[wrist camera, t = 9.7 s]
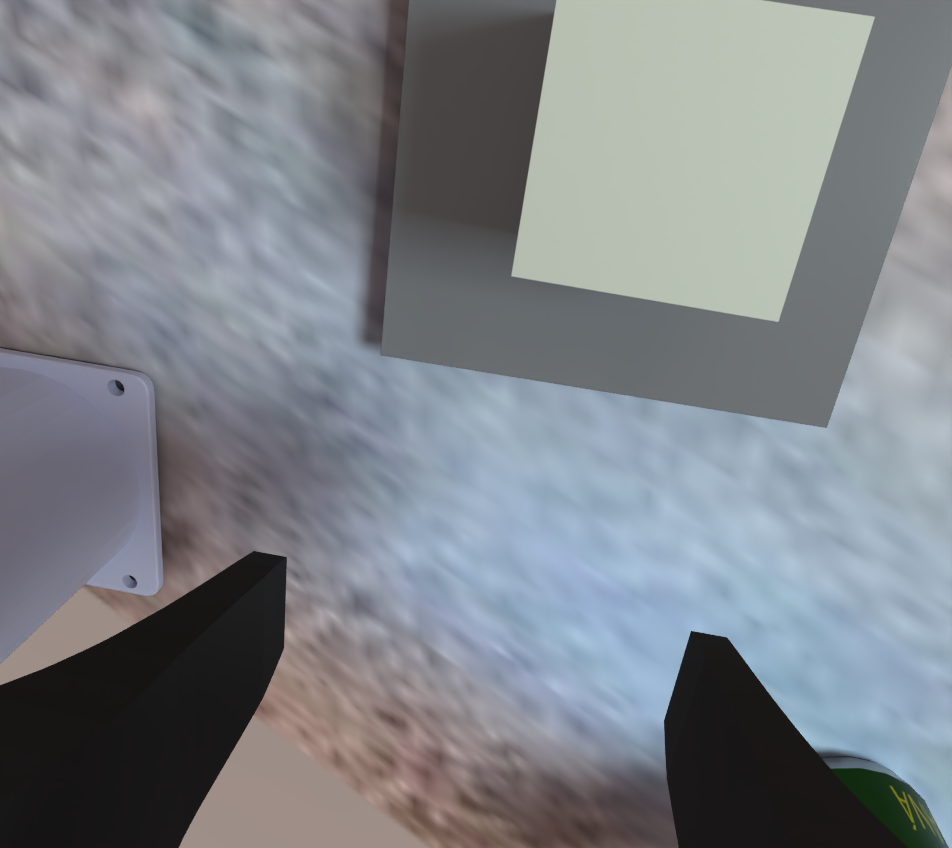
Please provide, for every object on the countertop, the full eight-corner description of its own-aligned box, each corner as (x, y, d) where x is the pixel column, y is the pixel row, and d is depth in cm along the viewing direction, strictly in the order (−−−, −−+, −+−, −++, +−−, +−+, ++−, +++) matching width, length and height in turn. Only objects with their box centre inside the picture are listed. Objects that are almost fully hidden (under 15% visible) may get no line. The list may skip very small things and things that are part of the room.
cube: (527, 236, 18) (511, 275, 14) (565, 11, 17) (561, -30, 12) (727, 270, 18) (778, 322, 14) (790, 45, 16) (874, 17, 12)
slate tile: (389, 344, 21) (380, 355, 20) (432, -171, 16) (423, -189, 15) (815, 413, 20) (826, 428, 19) (990, -107, 16) (1015, -122, 15)
